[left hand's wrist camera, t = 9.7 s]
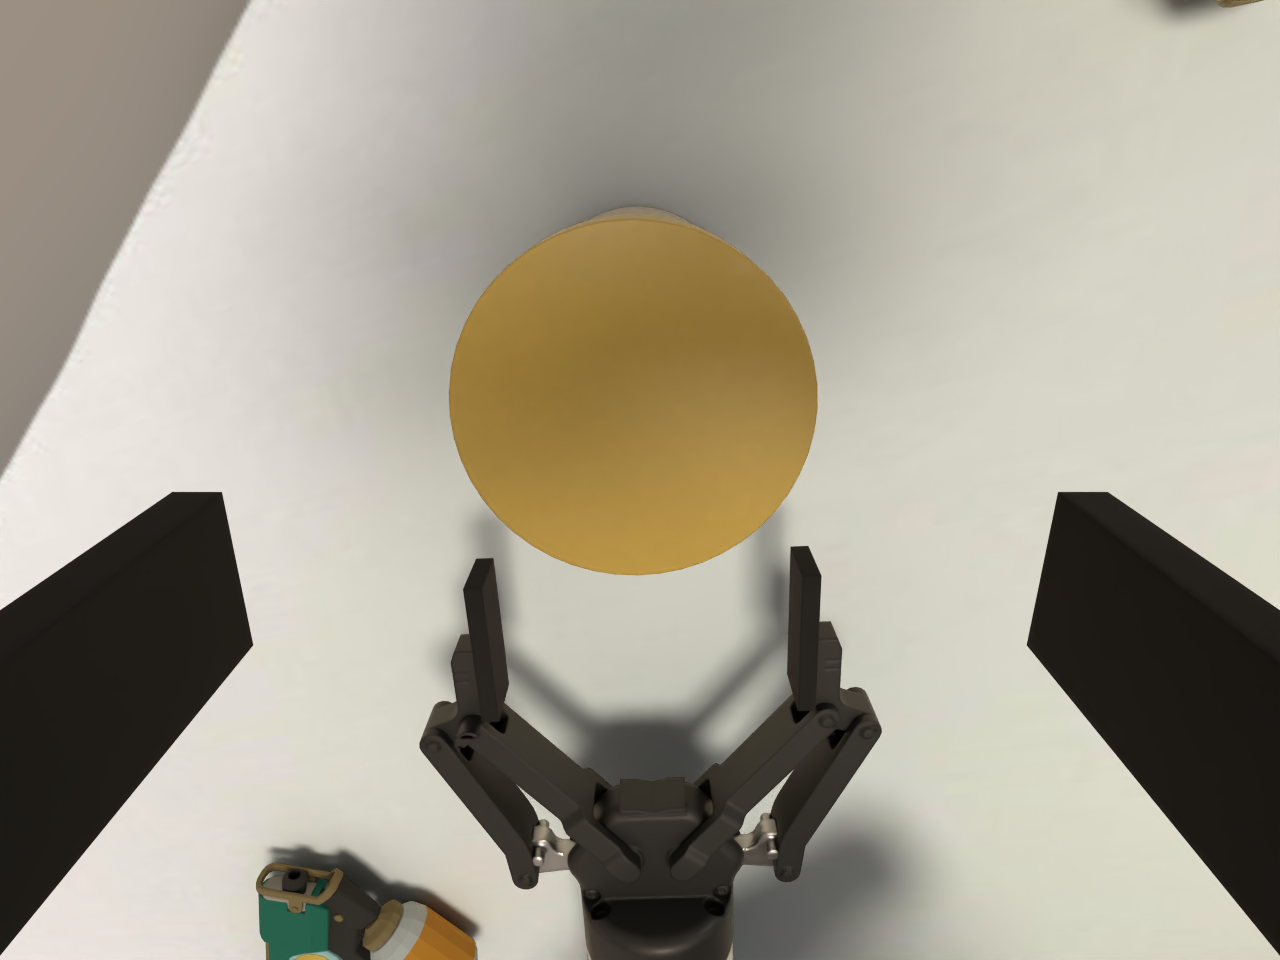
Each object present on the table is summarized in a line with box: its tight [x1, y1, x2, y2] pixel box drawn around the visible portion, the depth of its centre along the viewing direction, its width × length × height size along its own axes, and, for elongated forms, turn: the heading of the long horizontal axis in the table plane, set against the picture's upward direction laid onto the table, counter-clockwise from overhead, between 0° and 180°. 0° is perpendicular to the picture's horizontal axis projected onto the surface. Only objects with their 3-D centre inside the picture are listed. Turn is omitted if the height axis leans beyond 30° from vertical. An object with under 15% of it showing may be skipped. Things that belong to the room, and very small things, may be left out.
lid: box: [449, 214, 817, 575], centre depth 21 cm, size 9×9×2 cm
